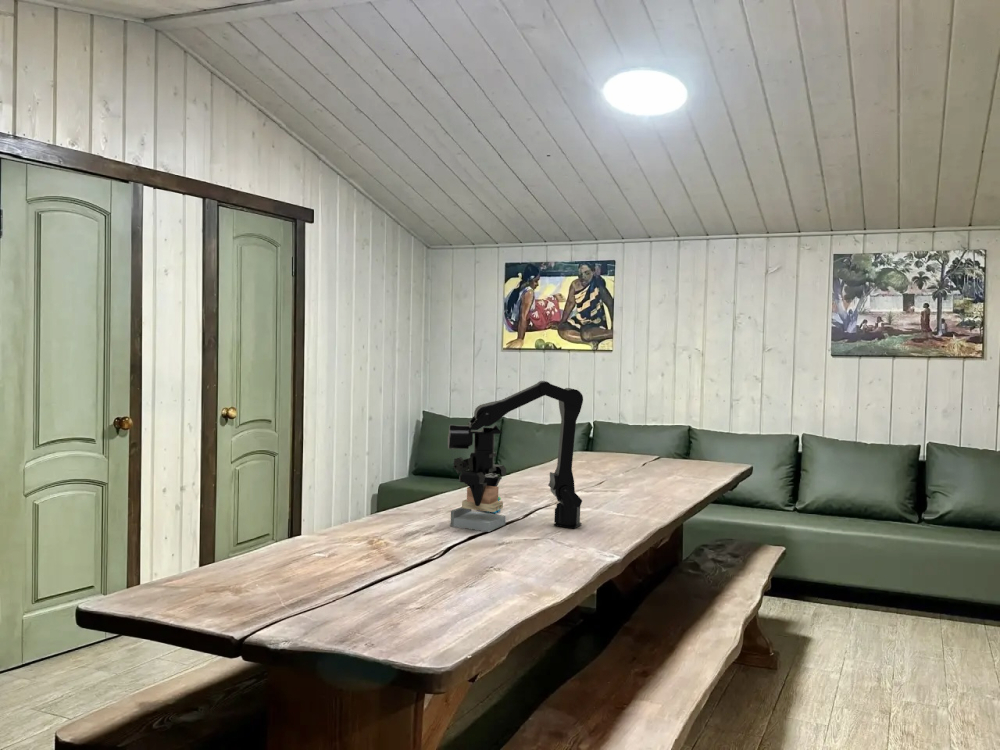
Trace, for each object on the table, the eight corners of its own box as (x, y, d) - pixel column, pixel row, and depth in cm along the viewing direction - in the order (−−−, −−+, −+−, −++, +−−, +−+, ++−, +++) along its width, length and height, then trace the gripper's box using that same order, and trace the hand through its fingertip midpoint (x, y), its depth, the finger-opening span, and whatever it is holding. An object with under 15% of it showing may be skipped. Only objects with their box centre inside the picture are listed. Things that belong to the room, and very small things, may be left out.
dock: (505, 524, 230) (505, 509, 229) (488, 531, 220) (489, 516, 219) (468, 519, 235) (468, 504, 234) (450, 526, 225) (450, 510, 224)
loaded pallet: (502, 508, 227) (503, 487, 227) (493, 512, 222) (494, 490, 221) (471, 504, 231) (472, 483, 231) (461, 508, 226) (462, 487, 226)
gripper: (473, 443, 238) (472, 495, 238) (443, 450, 221) (441, 506, 221) (507, 446, 233) (505, 499, 234) (479, 453, 216) (477, 511, 217)
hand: (482, 503), depth 226 cm, fingers closed on loaded pallet, 6 cm apart
